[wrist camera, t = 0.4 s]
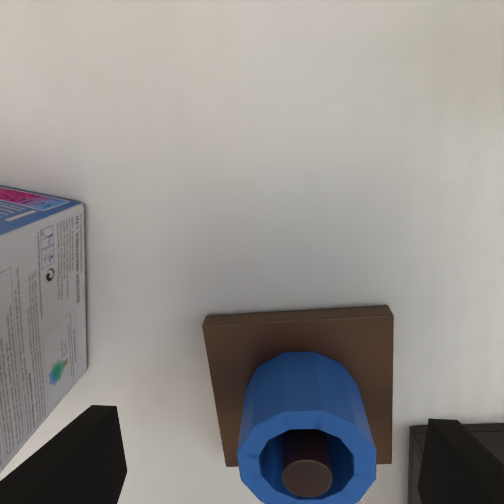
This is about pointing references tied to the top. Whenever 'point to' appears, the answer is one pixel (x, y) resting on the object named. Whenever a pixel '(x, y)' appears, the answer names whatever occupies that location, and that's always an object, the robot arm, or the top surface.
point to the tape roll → (305, 427)
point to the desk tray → (490, 435)
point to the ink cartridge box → (38, 310)
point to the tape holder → (303, 340)
